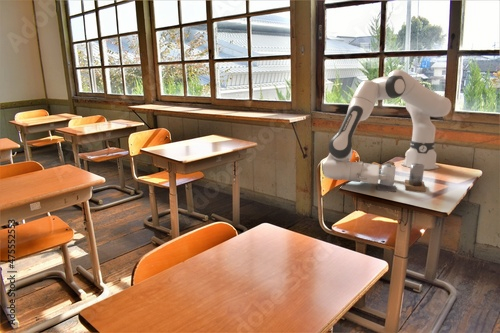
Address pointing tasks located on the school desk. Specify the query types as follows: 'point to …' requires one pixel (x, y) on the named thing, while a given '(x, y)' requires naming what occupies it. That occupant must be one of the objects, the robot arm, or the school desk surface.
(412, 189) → the caddy
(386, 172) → the white canister
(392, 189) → the coaster
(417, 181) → the flask
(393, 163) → the lion figurine
